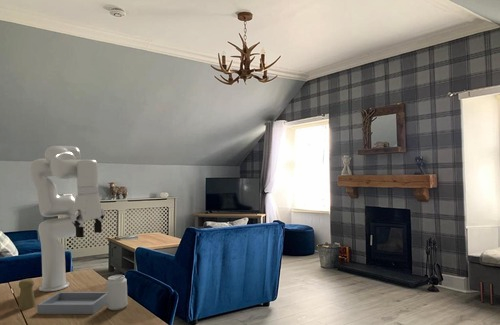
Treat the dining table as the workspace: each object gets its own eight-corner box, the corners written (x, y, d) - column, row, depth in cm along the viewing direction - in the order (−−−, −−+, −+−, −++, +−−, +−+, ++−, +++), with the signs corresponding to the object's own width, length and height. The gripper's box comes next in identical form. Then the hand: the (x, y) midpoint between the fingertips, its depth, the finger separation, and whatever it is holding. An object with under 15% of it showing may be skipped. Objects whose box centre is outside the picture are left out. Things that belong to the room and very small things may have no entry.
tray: (37, 313, 144) (37, 304, 144) (59, 300, 158) (59, 292, 158) (93, 313, 142) (92, 304, 142) (110, 300, 156) (110, 291, 156)
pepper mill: (17, 311, 148) (16, 282, 148) (18, 306, 153) (18, 278, 153) (35, 307, 150) (34, 280, 150) (36, 303, 156) (35, 276, 156)
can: (121, 311, 143) (120, 279, 143) (103, 310, 145) (102, 279, 145) (131, 304, 151) (130, 274, 151) (114, 303, 152) (112, 273, 152)
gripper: (95, 189, 158) (97, 230, 158) (62, 193, 142) (64, 238, 142) (110, 189, 156) (112, 231, 156) (78, 193, 139) (80, 239, 139)
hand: (89, 234), depth 149 cm, fingers open, 9 cm apart
